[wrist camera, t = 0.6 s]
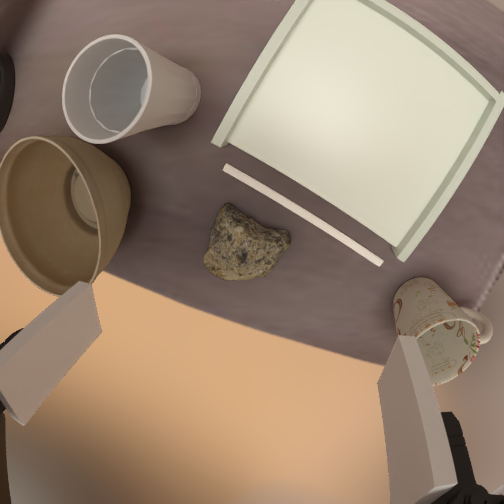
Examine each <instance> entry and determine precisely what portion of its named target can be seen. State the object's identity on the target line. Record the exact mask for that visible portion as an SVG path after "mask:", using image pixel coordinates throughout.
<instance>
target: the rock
mask: <svg viewBox="0 0 504 504" xmlns="http://www.w3.org/2000/svg"><path fill="white" fill-rule="evenodd" d="M290 241H291V238H289V234H288V232H287V231H286V230H278V229H270V228H267V229H266V228H264V227H263V226H261V225H260V224H259V223H258V222H256V221H255V220H253V218H252V217H251V218H247V217H246V216H245V215H244V214H242V213H241V212H240V211H239V210H237V209H236V208H235V207H234V206H232V205H231V204H229V203H228V204H225V206H224V207H223V208H221V209H220V211H219V214H218V216H217V218H216V220H215V222H214V224H213V226H212V228H211V233H210V242H209V246H208V249H207V252H206V253H205V254H204V258H203V262H204V265H205V266H206V267H207V269H208V270H209V271H210V272H211V273H212V274H213V275H215V276H218V277H220V278H221V279H223V280H225V281H231V280H244V279H247V280H251V279H254V278H257V277H265V276H266V275H267V273H269V272H270V271H271V270H272V269H273V267H274V265H275V263H276V262H277V261H278V259H279V257H280V256H281V255H282V254H283V253H284V252H285V251H286V249H287V248H289V246H290V245H291V242H290Z"/></svg>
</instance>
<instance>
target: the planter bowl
mask: <svg viewBox="0 0 504 504" xmlns="http://www.w3.org/2000/svg"><path fill="white" fill-rule="evenodd" d="M130 204H131V192H130V186H129V183H128V180H127V177H126V175H125V173H124V171H123V170H122V168H121V167H120V166H119V165H118V164H117V163H116V162H115V161H114V160H113V159H111V158H110V157H108V156H107V155H106V154H104V153H103V152H102V151H101V150H99V149H98V148H96V147H95V146H93V145H91V144H89V143H87V142H85V141H82V140H80V139H76V138H72V137H66V136H29V137H25V138H23V139H21V140H19V141H17V142H16V143H15V144H13V145H12V146H11V147H10V149H9V150H8V151H7V152H6V154H5V156H4V157H3V159H2V161H1V164H0V233H1V236H2V238H3V241H4V243H5V246H6V248H7V250H8V252H9V254H10V256H11V258H12V259H13V261H14V262H15V264H16V265H17V267H18V268H19V269H20V271H21V272H22V273H23V274H24V275H25V276H26V277H27V278H28V279H29V280H30V281H31V282H32V283H33V284H34V285H36V286H37V287H38V288H40V289H41V290H43V291H45V292H47V293H49V294H51V295H54V296H57V297H60V296H62V295H63V294H64V293H65V292H66V291H68V290H69V289H70V288H71V287H72V286H74V285H75V284H76V283H77V282H79V281H81V282H85V283H89V284H92V283H93V282H94V280H95V279H96V277H97V276H98V275H99V274H100V273H101V272H102V270H103V269H104V268H105V267H106V266H107V265H108V263H109V262H110V260H111V259H112V257H113V256H114V254H115V252H116V250H117V248H118V246H119V244H120V242H121V239H122V237H123V234H124V230H125V226H126V222H127V215H128V212H129V209H130Z"/></svg>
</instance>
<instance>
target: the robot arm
mask: <svg viewBox="0 0 504 504" xmlns="http://www.w3.org/2000/svg"><path fill="white" fill-rule="evenodd" d="M13 92H14V68H13V64H12V61H11V58H10V56H9V55H8V54H7V53H6V52H4V51H0V131H1V130H2V128H3V126H4V124H5V122H6V120H7V117H8V114H9V111H10V108H11V103H12V98H13ZM101 333H102V330H101V326H100V322H99V317H98V313H97V308H96V304H95V299H94V294H93V289H92V284H89V283H85V282H81V281H79V282H77V283H76V284H75V285H74V286H72V287H71V288H70V289H69V290H68V291H66V292H65V293H64V294H63V295H62V296H60V297H59V298H58V299H57V300H56V301H55V302H53V303H52V304H51V305H50V306H49V307H48V308H46V309H45V310H44V311H43V312H42V313H41V314H39V315H38V316H37V317H36V318H35V319H34V320H33V321H31V322H30V323H29V324H28V325H27V326H26V327H25V328H22V329H20V330H18V331H16V332H14V333H13V334H11V335H10V336H9V337H8V338H7V339H6V340H5V342H3V343H2V344H0V504H11V498H10V491H9V483H8V473H7V461H6V440H5V415H4V414H3V411H4V410H5V409H6V410H7V411H8V413H9V414H10V416H11V417H12V418H13V419H14V420H16V421H17V422H19V423H20V424H22V425H23V426H25V424H26V423H27V422H28V421H29V419H30V418H31V416H32V415H33V414H34V413H35V412H36V410H37V409H38V408H39V406H40V405H41V404H42V403H43V402H44V400H45V399H46V398H47V397H48V395H49V394H50V393H51V392H52V390H53V389H54V388H55V387H56V385H57V384H58V383H59V382H60V381H61V379H62V378H63V377H64V376H65V375H66V373H67V372H68V371H69V370H70V369H71V367H72V366H73V365H74V364H75V363H76V362H77V360H78V359H79V358H80V357H81V356H82V354H83V353H84V352H85V351H86V350H87V348H89V346H90V345H91V344H92V343H93V342H94V341H95V340H96V338H97V337H98V336H99V335H100V334H101ZM377 384H378V390H379V397H380V404H381V411H382V418H383V425H384V434H385V442H386V451H387V461H388V473H389V486H390V503H391V504H504V495H491V494H488V492H487V490H486V489H485V488H484V487H482V486H481V485H477V484H476V481H475V478H474V474H473V470H472V466H471V461H470V458H469V454H468V450H467V447H466V446H465V444H466V443H465V439H464V437H463V432H462V429H461V426H460V423H459V421H458V420H457V418H456V417H455V416H454V414H453V413H452V412H440V409H439V406H438V402H437V399H436V396H435V392H434V389H433V386H432V383H431V380H430V377H429V374H428V371H427V368H426V365H425V362H424V360H423V357H422V354H421V351H420V348H419V346H418V343H417V340H416V338H415V336H402V335H398V337H397V340H396V342H395V344H394V347H393V349H392V352H391V354H390V356H389V358H388V361H387V363H386V365H385V367H384V370H383V372H382V374H381V376H380V379H379V380H378V383H377Z"/></svg>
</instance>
